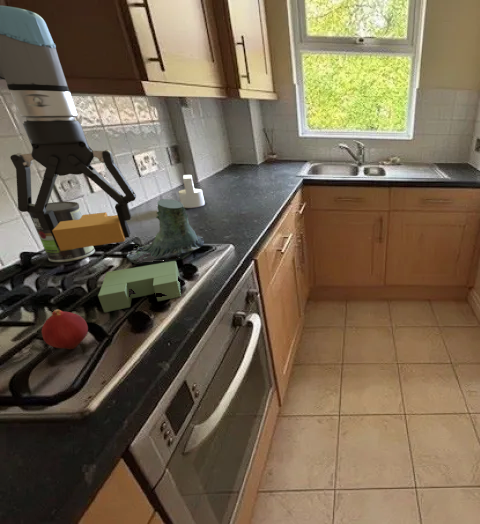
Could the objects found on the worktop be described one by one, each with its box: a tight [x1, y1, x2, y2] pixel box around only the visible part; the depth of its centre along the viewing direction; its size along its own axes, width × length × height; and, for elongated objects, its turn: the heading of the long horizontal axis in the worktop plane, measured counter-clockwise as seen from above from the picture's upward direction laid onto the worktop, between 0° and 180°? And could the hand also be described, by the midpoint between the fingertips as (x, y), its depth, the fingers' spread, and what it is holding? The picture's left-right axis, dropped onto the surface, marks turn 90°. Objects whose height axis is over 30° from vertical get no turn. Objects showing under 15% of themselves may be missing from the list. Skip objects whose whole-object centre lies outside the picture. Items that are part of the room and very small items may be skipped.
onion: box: [41, 309, 89, 350], centre depth 56 cm, size 6×6×8 cm
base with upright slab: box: [177, 174, 206, 209], centre depth 139 cm, size 9×9×12 cm
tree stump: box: [126, 198, 205, 266], centre depth 94 cm, size 18×20×18 cm
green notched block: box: [97, 260, 182, 313], centre depth 75 cm, size 14×12×4 cm
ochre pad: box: [52, 212, 126, 251], centre depth 67 cm, size 10×10×4 cm
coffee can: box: [27, 201, 96, 263], centre depth 90 cm, size 10×10×14 cm
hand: (95, 240), depth 66 cm, fingers closed on ochre pad, 10 cm apart
